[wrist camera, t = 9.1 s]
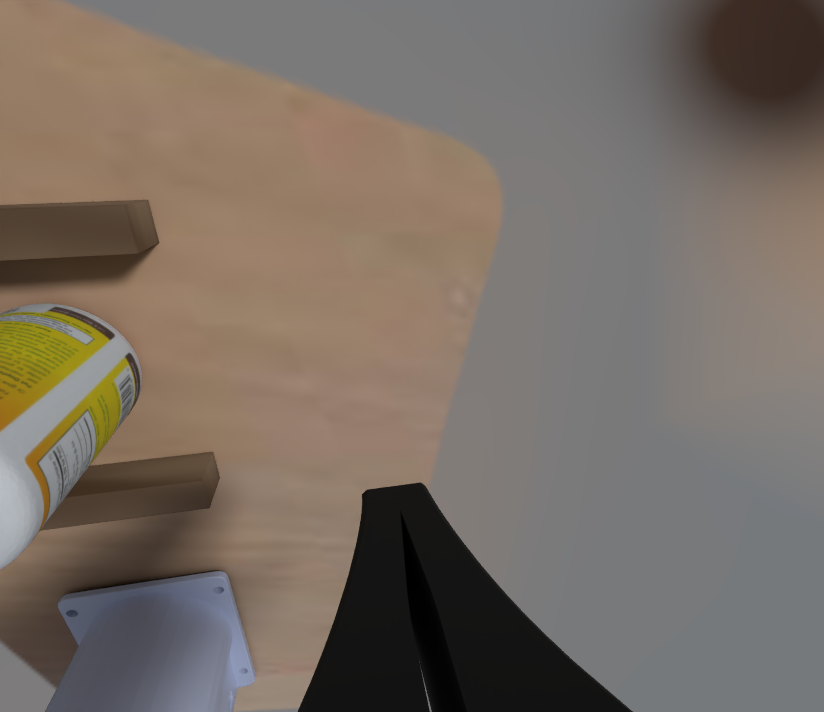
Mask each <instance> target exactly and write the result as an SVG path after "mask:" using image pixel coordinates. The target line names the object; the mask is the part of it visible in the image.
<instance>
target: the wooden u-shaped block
mask: <svg viewBox="0 0 824 712" xmlns="http://www.w3.org/2000/svg"><path fill="white" fill-rule="evenodd" d="M158 243H159V240H158V236H157V233H156V229H155V225H154V221H153V217H152V213H151V209H150V206H149V202H148V200H134V201H106V202H77V203H49V204H20V205H0V261H3V260H22V259H42V258H61V257H81V256H100V255H120V254H138V253H140V252H142V251H144V250H146V249H148V248H150V247H152V246H154V245H156V244H158ZM219 479H220V476H219V472H218V469H217V465H216V461H215V457H214V453H213V452H209V453H200V454H191V455H183V456H174V457H165V458H157V459H148V460H139V461H131V462H122V463H113V464H105V465H96V466H89V467H88V468H87V469H86V471H85V472H84V473H83V474H82V476H81V477H80V478H79V480H78V481H77V482H76V484H75V485H74V486H73V488H72V489H71V490H70V492H69V493H68V494H67V496H66V497H65V498H64V500H63V501H62V502H61V503H60V505H59V506H58V507H57V509H56V510H55V511H54V513H53V514H52V515H51V517H50V518H49V519H48V520H47V522H46V523H45V524H44V526H43V527H42V528H41V530H48V529H55V528H63V527H70V526H78V525H85V524H93V523H100V522H108V521H115V520H123V519H130V518H138V517H146V516H153V515H161V514H168V513H176V512H183V511H191V510H198V509H206V508H210V505H211V502H212V499H213V496H214V493H215V490H216V488H217V485H218V482H219Z"/></svg>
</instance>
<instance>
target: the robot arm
mask: <svg viewBox="0 0 824 712" xmlns="http://www.w3.org/2000/svg"><path fill="white" fill-rule="evenodd" d="M57 606H58V609H59V611H60V613H61V614H62V616H63V618H64V620H65V622H66V624H67V626H68V627H69V629H70V631H71V633H72V635H73V637H74V639H75V640H76V642H77V644H78V648H77V650H76V652H75V654H74V656H73V658H72V660H71V662H70V664H69V666H68V668H67V670H66V672H65V674H64V676H63V678H62V680H61V682H60V684H59V686H58V687H57V689H56V691H55V693H54V695H53V697H52V699H51V701H50V703H49V705H48V707H47V709H46V711H45V712H233V710H234V704H235V698H236V692H237V688H238V687H244V686H248V685H251V684H252V683H254V681H255V675H256V673H255V670H254V666H253V663H252V659H251V656H250V652H249V649H248V645H247V641H246V638H245V634H244V631H243V627H242V624H241V620H240V617H239V613H238V610H237V606H236V602H235V599H234V595H233V592H232V588H231V585H230V581H229V578H228V575H227V574H226V573H225V572H222V571H214V572H207V573H201V574H194V575H188V576H181V577H175V578H168V579H162V580H155V581H148V582H142V583H135V584H129V585H122V586H116V587H109V588H103V589H96V590H90V591H83V592H77V593H70V594H66V595H64V596H63V597H62V598H61V599H60V601H59V603H58V605H57ZM420 666H421V667H420ZM421 670H422V672H421ZM422 674H423V678H424V682H425V686H426V690H427V694H428V698H429V702H430V706H431V710H432V712H633V711H631V710H630V709H629V708H628V707H627V706H625V705H624V704H623V703H622V702H621V701H620V700H618V699H617V698H616V697H615V696H614V695H612V694H611V693H610V692H609V691H608V690H607V689H605V688H604V687H603V686H602V685H601V684H600V683H598V682H597V681H596V680H595V679H594V678H593V677H591V676H590V675H589V674H588V673H587V672H585V671H584V670H583V669H582V668H581V667H580V666H579V665H577V664H576V663H575V662H574V661H573V660H572V659H570V657H569V656H568V655H566V654H565V653H564V652H563V651H562V650H561V649H560V648H559V647H558V646H557V645H556V644H555V643H554V642H553V641H552V640H551V639H549V638H548V637H547V636H546V635H545V634H544V633H543V632H542V631H541V630H540V629H539V628H538V627H537V626H536V625H535V624H534V623H533V622H532V621H531V620H530V619H529V618H528V617H527V616H526V615H525V614H524V613H523V612H522V611H521V609H519V607H518V606H517V605H516V604H515V603H514V602H513V601H512V600H511V599H510V598H509V597H508V596H507V595H506V594H505V592H504V591H503V590H502V589H501V588H500V587H499V586H498V584H497V583H496V582H495V581H494V580H493V579H492V577H491V576H490V575H489V574H488V573H487V572H486V570H485V569H484V568H483V567H482V566H481V564H480V563H479V562H478V561H477V560H476V558H475V557H474V556H473V554H472V553H471V552H470V550H469V549H468V548H467V547H466V545H465V544H464V543H463V542H462V540H461V539H460V538H459V536H458V535H457V534H456V532H455V531H454V530H453V528H452V527H451V525H450V524H449V522H448V521H447V520H446V518H445V517H444V515H443V514H442V513H441V511H440V509H439V508H438V506H437V505H436V503H435V501H434V500H433V498H432V496H431V495H430V493H429V491H428V490H427V488H426V486H425V485H423V484H422V483H414V484H406V485H399V486H391V487H384V488H377V489H369V490H366V491H365V492H364V493H363V494H362V514H361V521H360V527H359V533H358V538H357V543H356V547H355V551H354V555H353V559H352V563H351V567H350V571H349V575H348V578H347V582H346V585H345V588H344V591H343V595H342V598H341V601H340V604H339V607H338V610H337V613H336V617H335V620H334V622H333V625H332V628H331V631H330V634H329V636H328V639H327V642H326V644H325V647H324V650H323V652H322V655H321V657H320V660H319V662H318V665H317V668H316V670H315V673H314V675H313V677H312V680H311V682H310V685H309V687H308V689H307V691H306V694H305V696H304V698H303V701H302V703H301V705H300V708H299V710H298V712H430V711H429V706H428V701H427V696H426V691H425V687H424V682H423V678H422Z"/></svg>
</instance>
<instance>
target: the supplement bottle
mask: <svg viewBox="0 0 824 712" xmlns="http://www.w3.org/2000/svg"><path fill="white" fill-rule="evenodd" d="M141 387H142V372H141V367H140V363H139V360H138V358H137V356H136V354H135V352H134V350H133V348H132V347H131V345H130V344H129V343H128V341H127V340H126V339H125V338H124V337H123V336H122V335H121V334H120V333H119V332H118V331H117V330H116V329H115V328H114V327H112V326H111V325H110V324H108V323H107V322H105V321H104V320H102V319H100V318H98V317H97V316H95V315H92V314H90V313H88V312H86V311H83V310H80V309H77V308H74V307H70V306H65V305H59V304H31V305H25V306H21V307H17V308H14V309H11V310H8V311H6V312H4V313H1V314H0V569H2V568H3V567H5V566H6V565H8V564H9V563H11V562H12V561H13V560H14V559H16V558H17V557H18V556H19V555H20V554H21V553H22V552H23V551H24V549H25V548H26V547H27V546H28V545H29V544H30V542H31V541H32V540H33V539H34V538H35V536H36V535H37V534H38V532H39V531H40V530H41V528H42V527H43V526H44V524H45V523H46V522H47V520H48V519H49V518H50V517H51V515H52V514H53V513H54V511H55V510H56V509H57V507H58V506H59V505H60V503H61V502H62V501H63V500H64V498H65V497H66V496H67V494H68V493H69V492H70V490H71V489H72V488H73V486H74V485H75V484H76V482H77V481H78V480H79V478H80V477H81V476H82V474H83V473H84V472H85V471H86V469H87V468H88V467H89V465H90V464H91V463H92V462H93V460H94V459H95V458H96V456H97V455H98V453H99V452H100V451H101V449H102V448H103V447H104V445H105V444H106V443H107V442H108V440H109V439H110V438H111V436H112V435H113V434H114V432H115V431H116V430H117V428H118V427H119V426H120V424H121V423H122V422H123V420H124V419H125V418H126V416H127V415H129V413H130V411H131V410H132V408H133V407H134V405H135V403H136V402H137V399H138V397H139V395H140V391H141Z"/></svg>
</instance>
